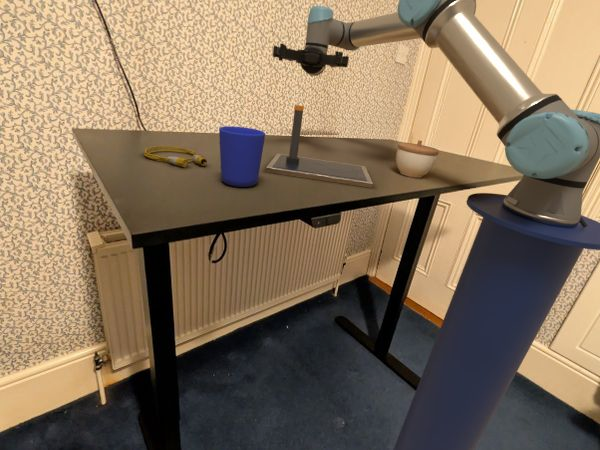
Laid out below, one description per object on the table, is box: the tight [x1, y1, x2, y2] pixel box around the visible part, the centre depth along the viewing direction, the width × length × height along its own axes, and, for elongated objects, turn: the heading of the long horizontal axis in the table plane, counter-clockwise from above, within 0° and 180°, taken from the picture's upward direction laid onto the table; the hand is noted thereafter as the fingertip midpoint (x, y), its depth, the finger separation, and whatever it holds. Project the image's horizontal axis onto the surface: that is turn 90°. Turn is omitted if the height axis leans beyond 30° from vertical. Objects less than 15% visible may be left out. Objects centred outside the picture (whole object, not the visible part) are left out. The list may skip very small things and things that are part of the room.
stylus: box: [286, 104, 305, 164], centre depth 77 cm, size 3×3×13 cm
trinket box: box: [395, 139, 440, 179], centre depth 88 cm, size 11×11×9 cm
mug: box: [218, 125, 266, 188], centre depth 62 cm, size 8×12×10 cm
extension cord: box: [144, 145, 208, 168], centre depth 72 cm, size 12×16×2 cm
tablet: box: [265, 152, 374, 189], centre depth 80 cm, size 24×17×1 cm
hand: (308, 53), depth 79 cm, fingers open, 13 cm apart
